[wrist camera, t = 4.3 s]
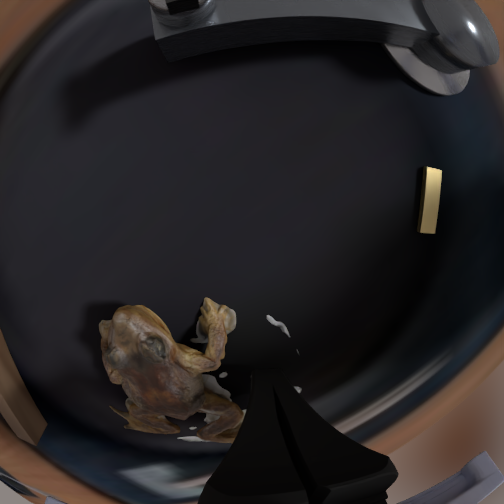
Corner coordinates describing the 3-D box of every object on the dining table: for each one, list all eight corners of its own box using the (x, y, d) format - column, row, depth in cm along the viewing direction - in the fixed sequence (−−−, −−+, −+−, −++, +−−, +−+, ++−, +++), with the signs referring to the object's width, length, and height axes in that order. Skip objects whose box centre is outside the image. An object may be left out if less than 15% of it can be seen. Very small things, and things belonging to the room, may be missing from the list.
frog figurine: (42, 298, 11) (2, 335, 7) (273, 232, 11) (297, 263, 7) (137, 440, 14) (127, 482, 11) (312, 411, 15) (329, 459, 11)
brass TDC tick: (437, 170, 10) (441, 170, 10) (431, 232, 11) (434, 233, 11) (423, 166, 10) (427, 166, 10) (416, 231, 11) (420, 232, 11)
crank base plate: (454, 19, 8) (458, 18, 7) (470, 111, 10) (475, 111, 9) (362, -25, 7) (365, -29, 7) (375, 72, 9) (379, 70, 8)
